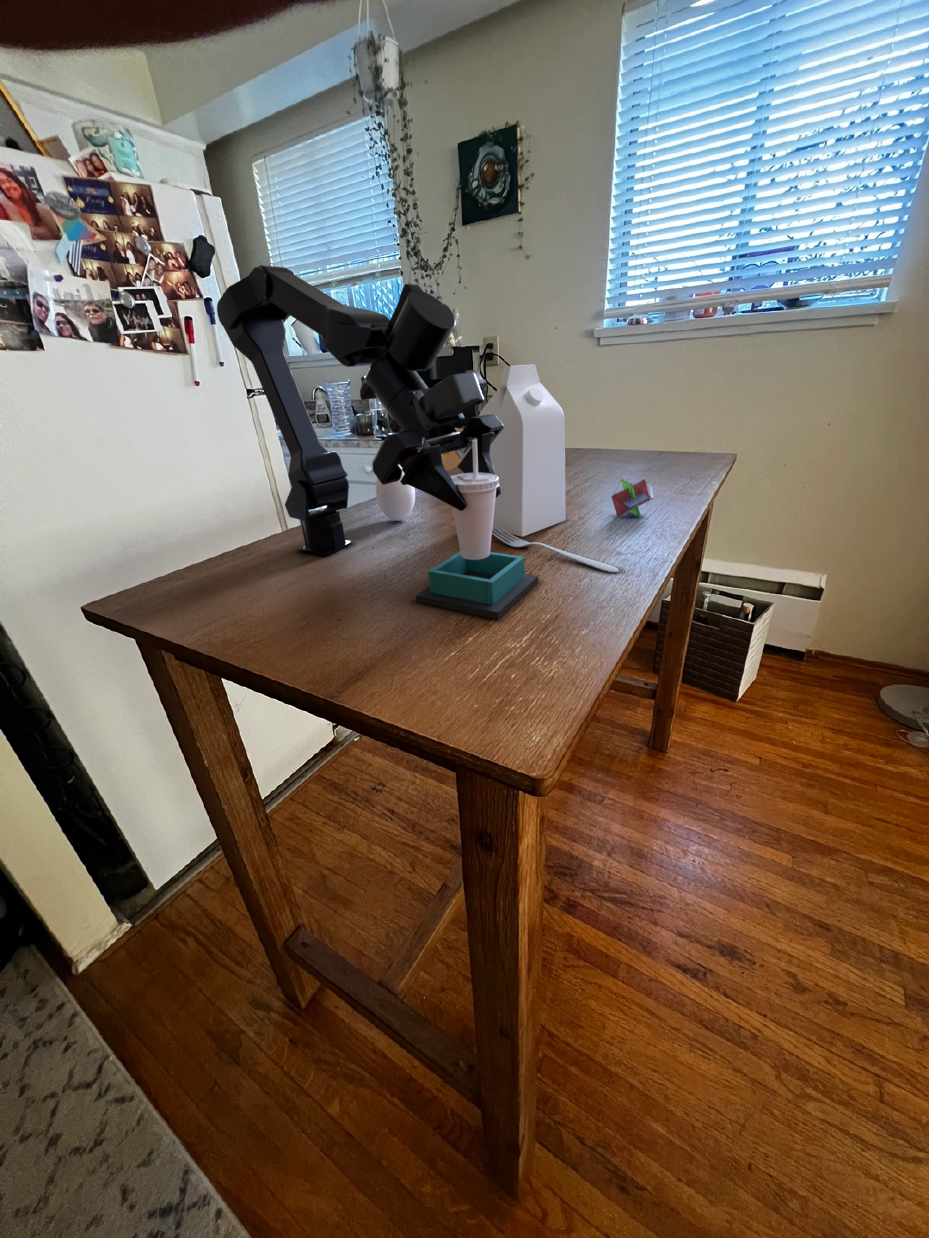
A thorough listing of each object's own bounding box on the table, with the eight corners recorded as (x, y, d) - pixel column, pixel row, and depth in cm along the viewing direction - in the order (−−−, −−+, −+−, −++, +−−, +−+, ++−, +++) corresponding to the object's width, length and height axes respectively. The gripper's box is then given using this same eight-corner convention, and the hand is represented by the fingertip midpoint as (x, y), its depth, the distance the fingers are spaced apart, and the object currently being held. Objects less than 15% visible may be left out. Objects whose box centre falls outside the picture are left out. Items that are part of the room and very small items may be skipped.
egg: (377, 527, 95) (368, 463, 90) (382, 516, 102) (374, 456, 96) (416, 524, 95) (409, 461, 90) (419, 514, 102) (413, 454, 96)
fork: (611, 575, 69) (612, 563, 68) (486, 540, 85) (486, 530, 84) (624, 568, 71) (625, 556, 70) (499, 535, 87) (499, 525, 86)
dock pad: (415, 601, 65) (412, 573, 63) (463, 569, 74) (461, 543, 72) (498, 620, 59) (497, 589, 57) (538, 582, 68) (538, 554, 66)
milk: (519, 510, 100) (518, 364, 88) (565, 520, 92) (571, 362, 80) (475, 524, 93) (468, 368, 81) (522, 536, 86) (521, 366, 73)
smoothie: (481, 567, 60) (476, 446, 54) (440, 557, 64) (431, 442, 57) (510, 551, 65) (509, 437, 58) (470, 542, 68) (465, 434, 62)
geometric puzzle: (612, 511, 88) (641, 472, 86) (595, 502, 94) (622, 464, 92) (639, 531, 91) (668, 493, 89) (621, 521, 97) (648, 485, 95)
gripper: (375, 348, 49) (467, 473, 48) (490, 343, 62) (565, 443, 60) (338, 429, 57) (416, 538, 56) (446, 410, 70) (511, 499, 69)
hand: (482, 501), depth 60 cm, fingers closed on smoothie, 6 cm apart
